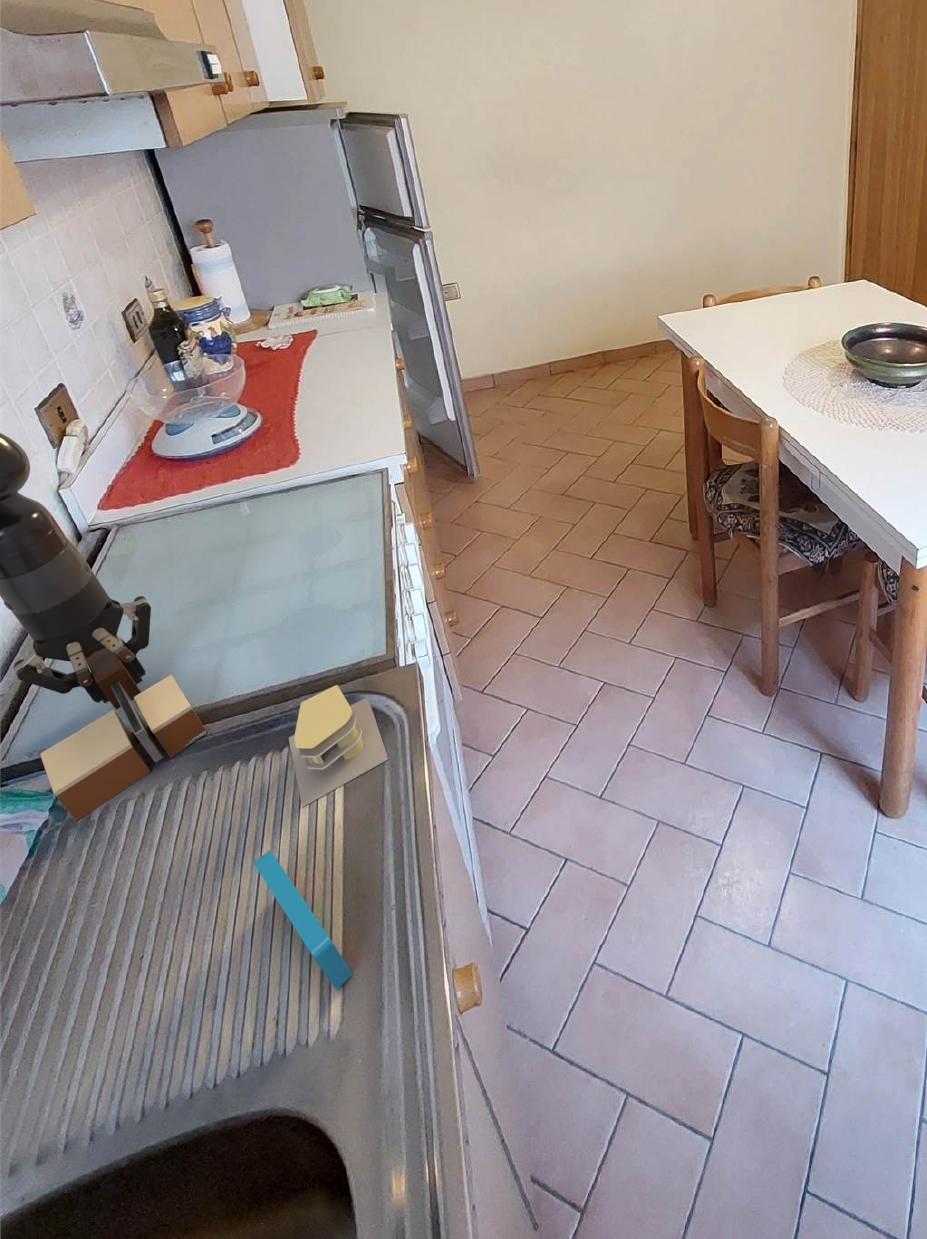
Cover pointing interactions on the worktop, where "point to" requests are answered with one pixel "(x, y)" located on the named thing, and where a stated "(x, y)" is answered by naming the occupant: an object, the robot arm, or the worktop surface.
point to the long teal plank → (303, 920)
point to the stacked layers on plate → (333, 743)
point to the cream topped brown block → (169, 715)
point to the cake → (94, 764)
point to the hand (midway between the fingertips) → (122, 688)
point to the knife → (122, 694)
